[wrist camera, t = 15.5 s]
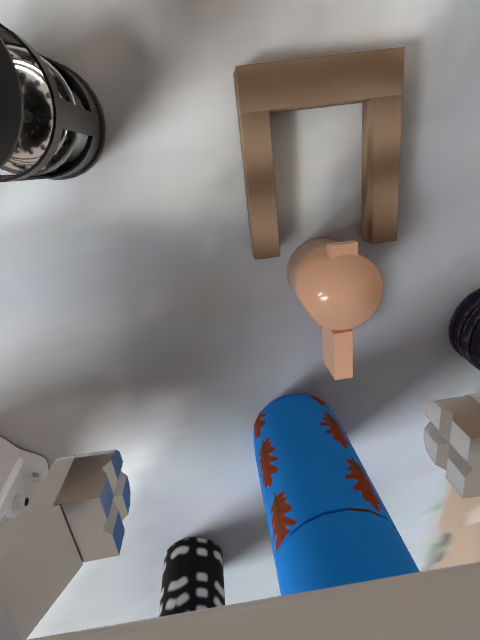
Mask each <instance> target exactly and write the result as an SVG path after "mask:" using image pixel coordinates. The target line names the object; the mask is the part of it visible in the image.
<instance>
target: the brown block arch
mask: <svg viewBox="0 0 480 640" xmlns="http://www.w3.org/2000/svg"><path fill="white" fill-rule="evenodd" d="M403 70H404V47H400V48H391V49H383V50H374V51H365V52H356V53H347V54H339V55H330V56H321V57H312V58H304V59H295V60H286V61H277V62H268V63H260V64H251V65H242V66H236V68H235V71H234V83H235V93H236V102H237V112H238V122H239V131H240V141H241V150H242V160H243V170H244V179H245V189H246V199H247V208H248V218H249V228H250V237H251V247H252V254H253V256H254V258H255V259H256V260H257V259H264V258H272V257H279V256H280V248H279V234H278V221H277V208H276V195H275V182H274V169H273V155H272V142H271V129H270V116H269V113H278V112H286V111H294V110H303V109H311V108H319V107H328V106H336V105H345V104H353V103H361V102H363V113H362V239H363V240H365V241H368V242H370V243H372V244H375V243H382V242H390V241H397V217H398V192H399V168H400V143H401V119H402V94H403Z"/></svg>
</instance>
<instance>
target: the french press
mask: <svg viewBox="0 0 480 640" xmlns="http://www.w3.org/2000/svg"><path fill="white" fill-rule="evenodd" d="M70 89H71V90H72V91H73V92H74V93H75V94H76V95H77V96H78V98H79V99H80V101H81V102H82V104H83V106H84V108H85V109H83V108H81V107H79V106H77V105H76V103H75V100H74V97H73V94H72V92H71V90H70ZM78 133H82V134H85V135H89V136H88V140H87V143H86V145H85V147H84V149H83V151H82V152H81V153H80V155H79V156H78V157H76V158H75V159H74V160H72V161H70V162H68V163H65V164H63V163H64V162H65V161H66V160H67V158H68V157H69V156H70V155H71V153H72V151H73V149H74V147H75V145H76V141H77V137H78ZM104 141H105V121H104V115H103V112H102V109H101V106H100V103H99V101H98V99H97V97H96V95H95V94H94V92H93V91H92V90H91V88H90V87H89V85H88V84H87V83H86V82H85V81H84V80H83V79H82V78H81V77H80V76H79V75H78V74H76V73H75V72H73V71H72V70H71V69H69V68H68V67H66V66H64V65H62V64H59V63H57V62H54V61H53V60H50V59H48V58H46V57H44V56H42V55H40V54H39V53H37V52H36V51H35V50H34V49H33V48H32V47H31V46H30V45H29V44H28V43H27V42H26V41H25V40H23V39H22V38H21V37H19V36H18V35H16V34H15V33H14V32H12V31H11V30H9V29H8V28H6V27H5V26H3V25H2V24H1V23H0V168H1V169H3V170H6V171H8V172H11V173H13V174H17V175H0V182H10V181H22V180H34V179H46V178H47V179H52V180H65V179H70V178H74V177H77V176H79V175H81V174H83V173H84V172H86V171H87V170H88V169H90V168H91V167H92V166H93V164H94V163H95V162H96V161H97V159H98V157H99V155H100V153H101V151H102V149H103V145H104Z"/></svg>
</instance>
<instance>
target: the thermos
mask: <svg viewBox="0 0 480 640" xmlns="http://www.w3.org/2000/svg"><path fill="white" fill-rule="evenodd" d="M254 446H255V455H256V462H257V467H258V473H259V478H260V484H261V489H262V494H263V500H264V505H265V511H266V516H267V522H268V527H269V532H270V538H271V543H272V549H273V554H274V560H275V565H276V568H277V569H276V570H277V576H278V581H279V587H280V592H281V596H283V595H289V594H295V593H301V592H307V591H312V590H318V589H324V588H330V587H335V586H341V585H347V584H353V583H359V582H364V581H370V580H376V579H382V578H388V577H393V576H399V575H405V574H411V573H417V572H420V571H419V570H418V568H417V566H416V564H415V562H414V560H413V558H412V557H411V555H410V553H409V551H408V549H407V547H406V545H405V544H404V542H403V540H402V538H401V536H400V534H399V532H398V531H397V529H396V527H395V525H394V523H393V521H392V519H391V517H390V516H389V514H388V512H387V510H386V508H385V506H384V504H383V502H382V501H381V499H380V497H379V495H378V493H377V491H376V489H375V488H374V486H373V484H372V482H371V480H370V478H369V476H368V475H367V473H366V471H365V469H364V467H363V465H362V463H361V461H360V460H359V458H358V456H357V454H356V452H355V450H354V448H353V447H352V445H351V443H350V441H349V439H348V437H347V435H346V433H345V432H344V430H343V428H342V427H341V425H340V423H339V422H338V420H337V419H336V417H335V416H334V414H333V413H332V411H331V410H330V409H329V407H328V406H327V405H326V404H325V403H324V402H323V401H321V400H319V399H317V398H316V397H314V396H311V395H303V394H294V395H288V396H283V397H281V398H279V399H277V400H275V401H273V402H271V403H269V404H268V405H267V406H266V407H265V408H264V409H263V410H262V411H261V412H260V414H259V416H258V418H257V420H256V422H255V424H254Z"/></svg>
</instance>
